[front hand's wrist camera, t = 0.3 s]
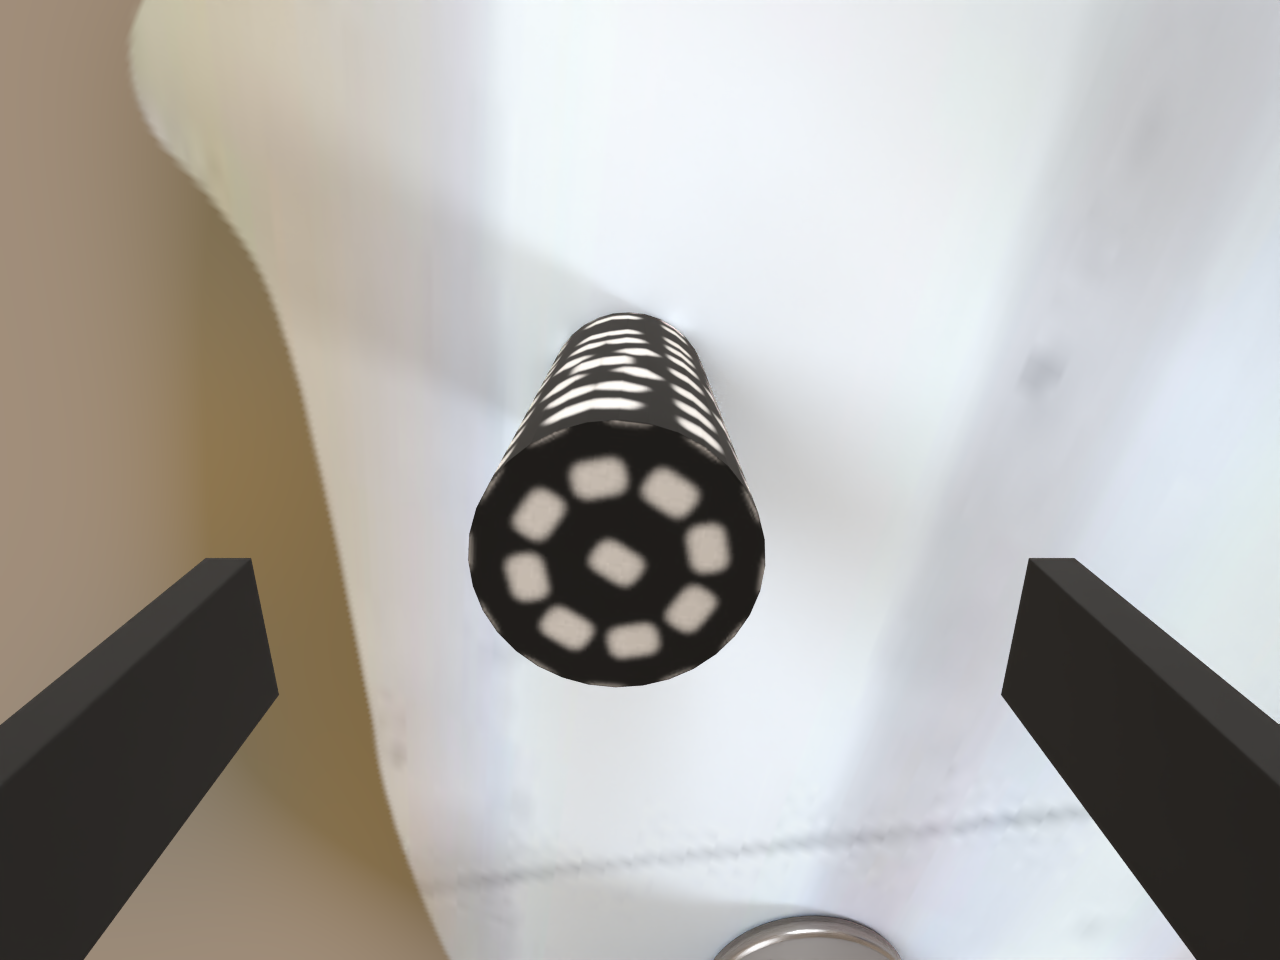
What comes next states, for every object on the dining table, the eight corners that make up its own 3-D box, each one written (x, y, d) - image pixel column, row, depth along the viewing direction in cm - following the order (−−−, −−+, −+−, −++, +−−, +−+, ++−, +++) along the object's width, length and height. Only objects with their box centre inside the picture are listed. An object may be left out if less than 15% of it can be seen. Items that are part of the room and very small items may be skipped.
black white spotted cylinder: (737, 372, 39) (826, 529, 20) (646, 492, 41) (652, 731, 23) (606, 279, 37) (573, 357, 19) (520, 410, 40) (414, 595, 21)
